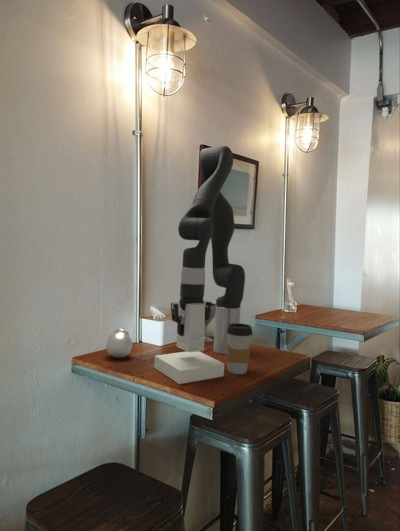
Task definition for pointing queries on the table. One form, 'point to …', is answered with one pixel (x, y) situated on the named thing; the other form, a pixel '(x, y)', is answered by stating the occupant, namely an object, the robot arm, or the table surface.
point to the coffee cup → (238, 347)
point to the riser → (189, 366)
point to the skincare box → (193, 328)
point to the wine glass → (211, 317)
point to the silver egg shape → (119, 343)
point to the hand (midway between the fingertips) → (189, 334)
